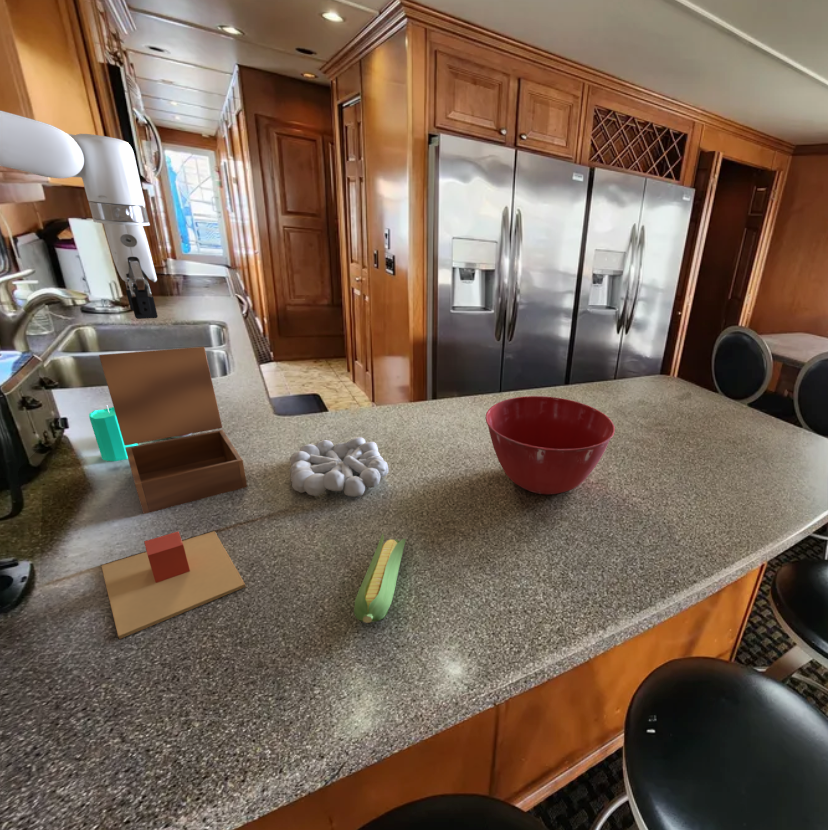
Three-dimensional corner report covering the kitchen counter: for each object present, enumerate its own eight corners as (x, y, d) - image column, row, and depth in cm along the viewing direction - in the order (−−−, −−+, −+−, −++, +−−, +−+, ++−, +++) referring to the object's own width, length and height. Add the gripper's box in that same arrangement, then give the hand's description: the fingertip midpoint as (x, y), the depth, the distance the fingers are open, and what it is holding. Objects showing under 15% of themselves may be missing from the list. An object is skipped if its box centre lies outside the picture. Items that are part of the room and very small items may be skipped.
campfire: (258, 480, 94) (254, 455, 92) (345, 445, 112) (343, 423, 109) (331, 517, 85) (328, 491, 83) (413, 473, 103) (412, 449, 101)
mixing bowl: (629, 485, 108) (640, 425, 102) (544, 533, 88) (552, 462, 82) (544, 441, 125) (549, 388, 119) (457, 473, 105) (458, 411, 99)
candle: (145, 457, 98) (131, 405, 93) (108, 467, 93) (92, 413, 89) (134, 448, 101) (120, 397, 96) (97, 457, 96) (81, 404, 91)
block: (190, 571, 69) (183, 544, 67) (155, 583, 66) (147, 555, 65) (185, 557, 72) (178, 531, 70) (152, 568, 69) (144, 541, 67)
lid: (204, 346, 94) (203, 346, 94) (98, 355, 83) (98, 354, 84) (222, 427, 98) (221, 427, 99) (124, 445, 88) (124, 444, 88)
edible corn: (348, 634, 63) (346, 608, 61) (381, 540, 81) (380, 519, 79) (387, 633, 63) (386, 608, 62) (411, 540, 82) (411, 519, 80)
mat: (99, 559, 70) (98, 555, 70) (209, 524, 80) (209, 521, 80) (119, 639, 58) (117, 636, 58) (245, 587, 68) (245, 583, 68)
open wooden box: (248, 490, 91) (242, 459, 88) (144, 517, 80) (134, 484, 78) (228, 457, 101) (222, 429, 99) (134, 477, 91) (125, 447, 88)
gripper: (154, 220, 79) (176, 322, 86) (142, 214, 90) (162, 305, 97) (94, 216, 74) (122, 324, 81) (88, 210, 85) (114, 306, 92)
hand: (144, 313), depth 89 cm, fingers open, 7 cm apart
